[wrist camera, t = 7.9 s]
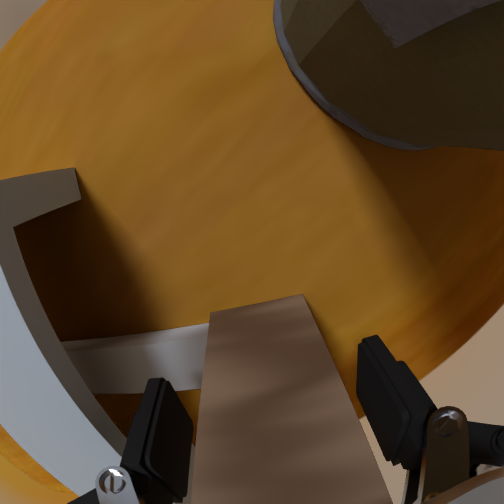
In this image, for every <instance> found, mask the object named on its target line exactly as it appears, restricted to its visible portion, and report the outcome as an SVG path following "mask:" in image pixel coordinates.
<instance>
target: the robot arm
mask: <svg viewBox="0 0 504 504" xmlns="http://www.w3.org/2000/svg"><path fill="white" fill-rule="evenodd" d="M356 393H357V397H358V399H359V401H360V404H361V406H362V408H363V410H364V412H365V414H366V417H367V419H368V421H369V423H370V425H371V428H372V430H373V432H374V434H375V436H376V439H377V441H378V443H379V446H380V448H381V450H382V453H383V455H384V457H385V459H386V461H391V462H392V464H393V466H395V465H397V464H399V463H401V465H402V467H403V469H406V470H407V474H406V481H405V486H404V492H403V497H402V503H401V504H504V426H500V425H491V424H484V423H477V422H470V421H467V418H466V415H465V414H464V412H463V411H462V410H460V409H459V408H456V407H451V406H446V407H441V408H439V409H437V407H436V406H435V404H434V403H433V401H432V400H431V398H430V397H429V396H428V394H427V393H426V391H425V390H424V388H423V387H422V386H421V384H420V383H419V381H418V380H417V378H416V377H415V376H414V374H413V373H412V371H411V370H410V369H409V367H408V366H407V364H406V363H405V362H404V361H402V360H401V361H398V362H397V361H396V360H395V358H394V357H393V355H392V354H391V353H390V351H389V350H388V348H387V347H386V346H385V344H384V343H383V341H382V340H381V339H380V337H379V336H378V335H373V336H370V337H367V338H364V339H362V343H360V344H358V361H357V383H356ZM192 437H193V423H192V420H191V419H190V417H189V415H188V414H187V412H186V410H185V408H184V407H183V405H182V403H181V401H180V399H179V398H178V396H177V394H176V392H175V390H174V388H173V386H172V385H171V383H170V381H166V380H165V378H163V377H161V378H150V379H148V381H147V385H146V388H145V391H144V394H143V397H142V400H141V404H140V407H139V410H138V411H137V412H135V415H134V417H133V421H132V424H131V427H130V431H129V434H128V437H127V441H126V444H125V448H124V451H123V455H122V459H121V462H120V466H108V467H106V468H104V469H103V470H101V471H100V472H99V474H98V475H97V477H96V480H95V486H96V488H94V489H93V490H91V491H89V492H87V493H86V494H84V495H82V496H80V497H78V498H77V499H75V500H73V501H71V502H69V503H67V504H173V503H183V497H186V496H187V491H188V479H189V468H190V457H191V447H192Z"/></svg>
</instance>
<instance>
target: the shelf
mask: <svg viewBox="0 0 504 504" xmlns="http://www.w3.org/2000/svg"><path fill="white" fill-rule="evenodd" d="M78 200H81V195H80V191H79V187H78V182H77V178H76V174H75V169H74V168H67V169H60V170H53V171H47V172H41V173H35V174H29V175H24V176H19V177H14V178H9V179H4V180H0V424H1V425H2V427H3V428H4V429H5V430H6V431H7V432H8V433H9V434H10V435H11V437H12V438H13V439H14V440H15V441H16V442H17V443H18V444H19V445H20V446H21V447H22V448H23V449H24V450H25V451H26V452H27V453H28V454H29V455H30V456H31V457H32V458H33V459H34V460H36V461H37V462H38V463H39V464H40V465H41V466H42V467H43V468H44V469H46V470H47V471H48V472H49V473H50V474H51V475H53V476H54V477H55V478H56V479H57V480H59V481H60V482H61V483H62V484H64V485H65V486H66V487H68V488H69V489H70V490H72V491H73V492H74V493H76V494H77V495H78V496H82V495H84V494H86V493H87V492H89V491H91V490H93V489H94V488H96V486H95V480H96V477H97V475H98V474H99V472H100V471H101V470H103V469H104V468H106V467H108V466H120V462H121V459H122V455H123V451H124V448H125V444H126V441H127V438H126V437H125V436H124V435H123V434H122V432H121V431H120V430H119V429H118V427H117V426H116V425H115V424H114V422H113V421H112V420H111V419H110V417H109V416H108V415H107V413H106V412H105V411H104V409H103V408H102V407H101V405H100V404H99V403H98V401H97V400H96V398H95V397H94V396H93V394H92V393H91V391H90V390H89V388H88V387H87V385H86V384H85V382H84V381H83V379H82V378H81V376H80V375H79V373H78V372H77V370H76V368H75V367H74V365H73V363H72V362H71V360H70V358H69V357H68V355H67V353H66V352H65V350H64V348H63V346H62V344H61V343H60V341H59V339H58V337H57V335H56V333H55V331H54V329H53V327H52V326H51V324H50V322H49V319H48V317H47V315H46V313H45V311H44V309H43V307H42V305H41V302H40V300H39V298H38V296H37V293H36V291H35V289H34V286H33V284H32V281H31V279H30V276H29V274H28V271H27V268H26V266H25V263H24V260H23V257H22V254H21V252H20V249H19V245H18V242H17V239H16V236H15V232H14V229H13V228H14V227H16V226H18V225H20V224H22V223H25V222H27V221H29V220H31V219H34V218H36V217H38V216H41V215H43V214H45V213H48V212H50V211H53V210H55V209H58V208H60V207H63V206H65V205H68V204H70V203H73V202H76V201H78ZM194 457H195V446H194V445H193V443H192V447H191V457H190V468H189V479H188V491H187V496H186V497H183V503H173V504H191V497H192V483H193V469H194Z"/></svg>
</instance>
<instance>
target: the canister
mask: <svg viewBox="0 0 504 504" xmlns="http://www.w3.org/2000/svg"><path fill="white" fill-rule="evenodd" d="M273 22H274V27H275V32H276V37H277V42H278V44H279V46H280V48H281V50H282V52H283V55H284V57H285V59H286V61H287V64H288V66H289V68H290V69H291V71H292V72H293V73H294V74H295V76H296V77H297V78H298V80H299V81H300V82H301V83H302V85H303V86H304V87H305V89H306V90H307V91H308V93H309V94H310V95H311V96H312V97H313V98H314V99H315V101H316V102H317V103H318V104H319V105H320V106H321V107H322V108H323V109H324V110H326V111H327V112H328V113H329V114H330V115H332V116H333V117H334V118H335V119H337V120H338V121H340V122H342V123H343V124H345V125H347V126H348V127H350V128H351V129H353V130H354V131H356V132H357V133H359V134H360V135H362V136H363V137H364V138H366V139H369V140H372V141H374V142H377V143H380V144H382V145H385V146H388V147H392V148H397V149H403V150H424V149H429V148H434V147H437V146H453V147H468V148H480V149H491V150H500V151H504V0H275V1H274V14H273Z"/></svg>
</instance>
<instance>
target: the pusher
mask: <svg viewBox="0 0 504 504" xmlns="http://www.w3.org/2000/svg"><path fill="white" fill-rule="evenodd" d="M60 343H61V344H62V346H63V348H64V350H65V352H66V353H67V355H68V357H69V358H70V360H71V362H72V363H73V365H74V367H75V368H76V370H77V372H78V373H79V375H80V376H81V378H82V379H83V381H84V382H85V384H86V385H87V387H88V388H89V390H90V391H91V393H92V394H132V393H144V391H145V388H146V385H147V381H148V379H150V378H161V377H163V378H165V380H166V381H170V383H171V385H172V386H173V388H174V390H175V391H181V390H192V389H201V395H200V404H199V414H198V424H197V435H196V446H195V457H194V469H193V483H192V497H191V504H393V503H392V500H391V497H390V495H389V492H388V490H387V487H386V484H385V482H384V479H383V477H382V474H381V472H380V469H379V467H378V464H377V462H376V459H375V457H374V455H373V452H372V450H371V447H370V445H369V442H368V440H367V438H366V435H365V433H364V431H363V428H362V426H361V423H360V421H359V419H358V416H357V414H356V412H355V409H354V407H353V405H352V402H351V400H350V398H349V395H348V393H347V391H346V389H345V386H344V384H343V382H342V380H341V377H340V375H339V373H338V371H337V368H336V366H335V364H334V362H333V359H332V357H331V355H330V353H329V351H328V348H327V346H326V344H325V342H324V340H323V337H322V335H321V333H320V331H319V329H318V327H317V324H316V322H315V320H314V318H313V316H312V314H311V311H310V309H309V307H308V305H307V303H306V301H305V299H304V297H303V294H300V295H295V296H291V297H286V298H282V299H277V300H272V301H268V302H263V303H258V304H253V305H248V306H243V307H238V308H233V309H228V310H222V311H217V312H211V313H210V320H209V323H206V324H200V325H194V326H188V327H181V328H175V329H168V330H162V331H155V332H147V333H140V334H132V335H124V336H116V337H107V338H97V339H87V340H76V341H64V342H60Z"/></svg>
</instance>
